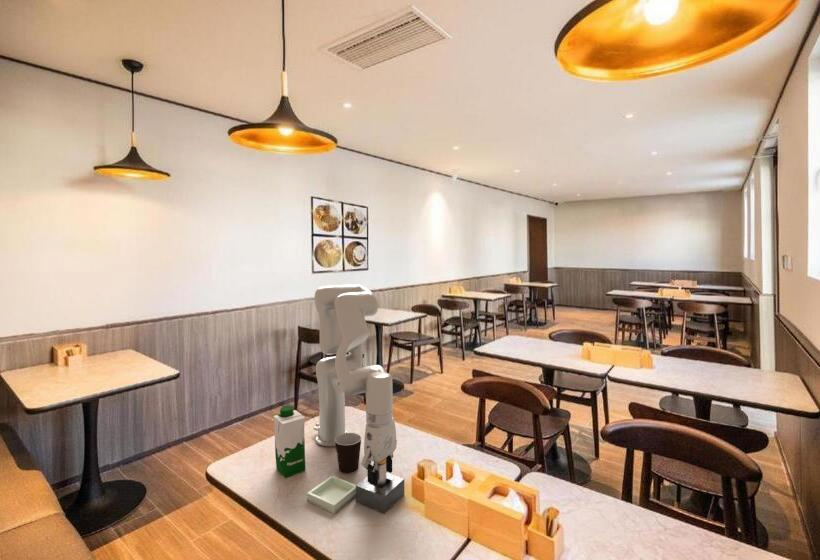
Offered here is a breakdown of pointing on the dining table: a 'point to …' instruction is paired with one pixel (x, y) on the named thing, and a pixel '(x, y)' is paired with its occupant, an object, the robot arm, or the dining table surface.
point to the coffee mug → (348, 452)
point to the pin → (381, 474)
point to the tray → (332, 494)
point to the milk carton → (289, 441)
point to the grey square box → (380, 493)
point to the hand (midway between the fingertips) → (380, 476)
